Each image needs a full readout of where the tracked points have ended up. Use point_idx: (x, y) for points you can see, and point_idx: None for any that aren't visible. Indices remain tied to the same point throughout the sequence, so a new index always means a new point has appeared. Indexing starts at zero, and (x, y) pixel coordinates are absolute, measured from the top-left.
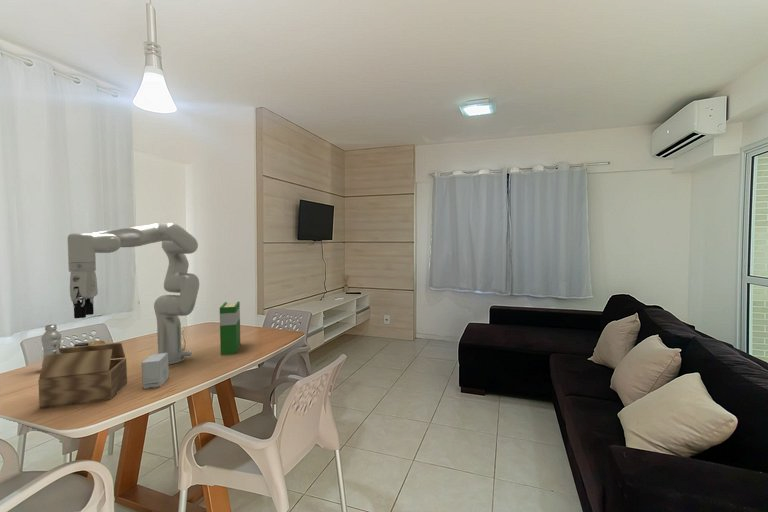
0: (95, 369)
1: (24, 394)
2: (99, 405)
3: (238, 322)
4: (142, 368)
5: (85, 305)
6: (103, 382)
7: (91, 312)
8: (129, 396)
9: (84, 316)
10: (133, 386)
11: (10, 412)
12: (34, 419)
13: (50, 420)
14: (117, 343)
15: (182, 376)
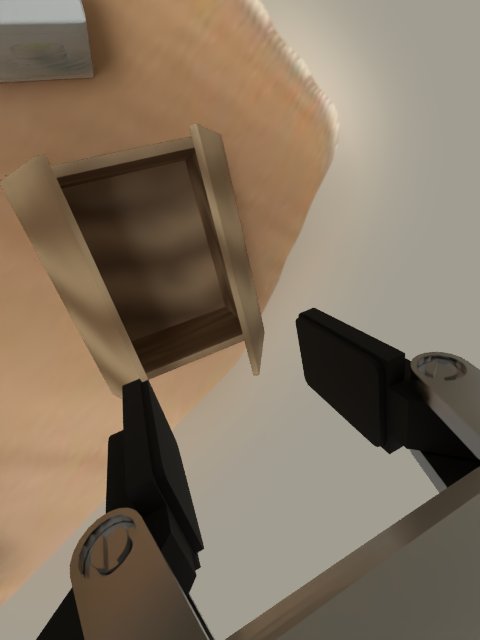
0: (230, 184)
1: None
2: None
3: None
4: (87, 34)
5: (190, 521)
6: None
7: (151, 397)
8: (166, 96)
9: (318, 314)
10: (73, 134)
11: (238, 353)
12: (277, 272)
13: (287, 231)
14: (52, 177)
15: None
